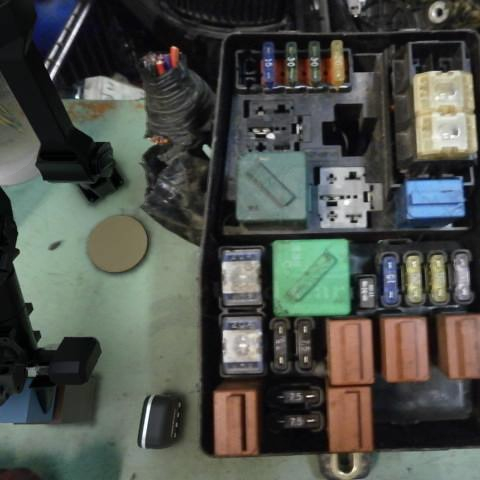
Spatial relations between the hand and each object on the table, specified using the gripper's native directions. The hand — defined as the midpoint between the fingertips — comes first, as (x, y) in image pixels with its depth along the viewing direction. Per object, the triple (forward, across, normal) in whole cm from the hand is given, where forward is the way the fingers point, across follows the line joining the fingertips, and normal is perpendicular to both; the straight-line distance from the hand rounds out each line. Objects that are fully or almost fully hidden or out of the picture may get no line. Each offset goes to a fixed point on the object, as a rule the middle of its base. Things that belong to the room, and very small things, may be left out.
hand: (29, 411), depth 67 cm
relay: (0, 0, +2) cm, 2 cm away
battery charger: (+11, +15, +8) cm, 20 cm away
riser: (+9, 0, +10) cm, 14 cm away
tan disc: (-8, +4, +28) cm, 29 cm away
